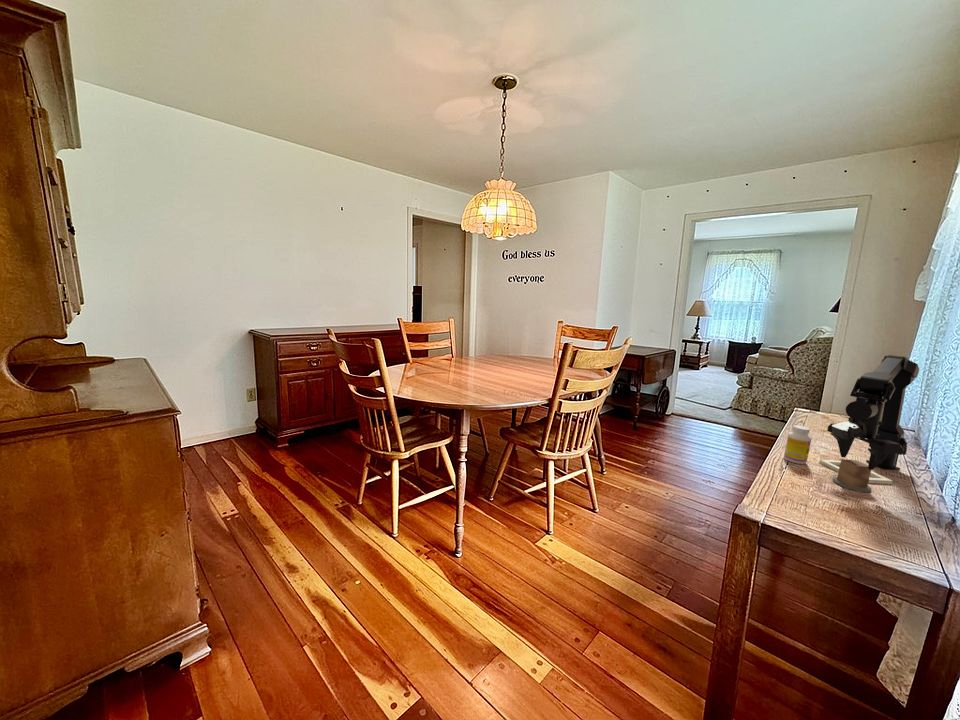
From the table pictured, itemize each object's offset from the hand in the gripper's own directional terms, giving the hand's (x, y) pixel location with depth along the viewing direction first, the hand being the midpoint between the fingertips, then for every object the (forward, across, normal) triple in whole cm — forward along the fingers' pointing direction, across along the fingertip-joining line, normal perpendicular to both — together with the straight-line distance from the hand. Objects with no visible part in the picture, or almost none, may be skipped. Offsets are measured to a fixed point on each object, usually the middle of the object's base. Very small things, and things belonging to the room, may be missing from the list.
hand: (856, 463), depth 122 cm
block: (+7, 0, 0) cm, 7 cm away
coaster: (+8, 0, 0) cm, 8 cm away
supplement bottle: (+8, -18, -4) cm, 20 cm away
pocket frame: (+8, -10, +10) cm, 16 cm away
